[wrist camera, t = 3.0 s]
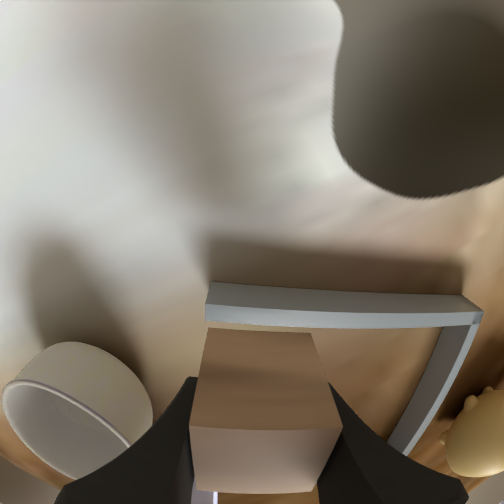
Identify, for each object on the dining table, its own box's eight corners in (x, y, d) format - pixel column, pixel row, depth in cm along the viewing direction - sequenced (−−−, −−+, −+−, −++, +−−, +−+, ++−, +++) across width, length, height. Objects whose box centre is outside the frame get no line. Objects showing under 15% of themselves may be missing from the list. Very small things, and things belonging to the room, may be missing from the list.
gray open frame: (387, 450, 24) (396, 470, 21) (208, 458, 23) (205, 482, 20) (462, 295, 19) (484, 311, 16) (211, 281, 18) (205, 303, 15)
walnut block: (294, 402, 13) (311, 491, 8) (208, 399, 12) (196, 490, 8) (310, 332, 11) (342, 427, 7) (208, 327, 11) (188, 425, 6)
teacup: (30, 341, 19) (-20, 395, 12) (110, 301, 18) (51, 372, 11) (120, 446, 23) (100, 506, 15) (210, 431, 22) (202, 508, 14)
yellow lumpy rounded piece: (475, 428, 25) (509, 479, 15) (415, 440, 24) (449, 509, 14) (516, 369, 22) (562, 418, 12) (463, 373, 21) (519, 442, 11)
